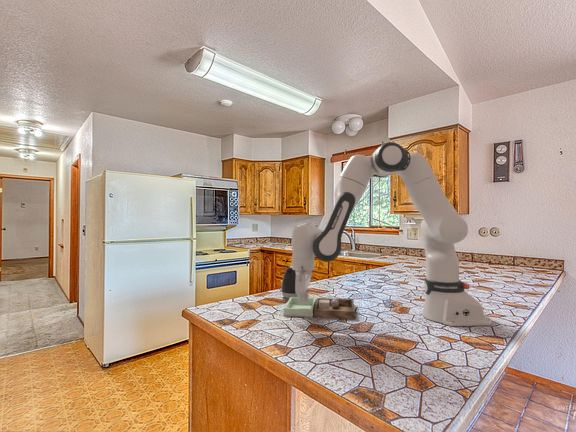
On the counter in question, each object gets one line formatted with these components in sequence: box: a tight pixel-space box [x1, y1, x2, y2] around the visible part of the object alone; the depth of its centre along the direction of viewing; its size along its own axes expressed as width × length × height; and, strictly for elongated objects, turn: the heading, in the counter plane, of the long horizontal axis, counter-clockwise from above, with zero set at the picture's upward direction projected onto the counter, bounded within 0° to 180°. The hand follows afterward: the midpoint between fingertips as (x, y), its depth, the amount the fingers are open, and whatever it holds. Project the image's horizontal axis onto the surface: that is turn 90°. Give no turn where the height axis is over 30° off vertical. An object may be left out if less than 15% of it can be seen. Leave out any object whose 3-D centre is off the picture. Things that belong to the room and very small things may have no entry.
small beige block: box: [298, 290, 310, 304], centre depth 118 cm, size 4×4×4 cm
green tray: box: [283, 297, 317, 318], centre depth 121 cm, size 11×16×4 cm
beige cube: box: [319, 300, 330, 310], centre depth 118 cm, size 4×4×4 cm
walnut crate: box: [313, 297, 356, 320], centre depth 119 cm, size 15×16×4 cm
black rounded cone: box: [280, 265, 298, 300], centre depth 140 cm, size 10×10×15 cm
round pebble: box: [331, 298, 339, 308], centre depth 123 cm, size 3×3×3 cm
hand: (303, 299), depth 118 cm, fingers closed on small beige block, 4 cm apart
